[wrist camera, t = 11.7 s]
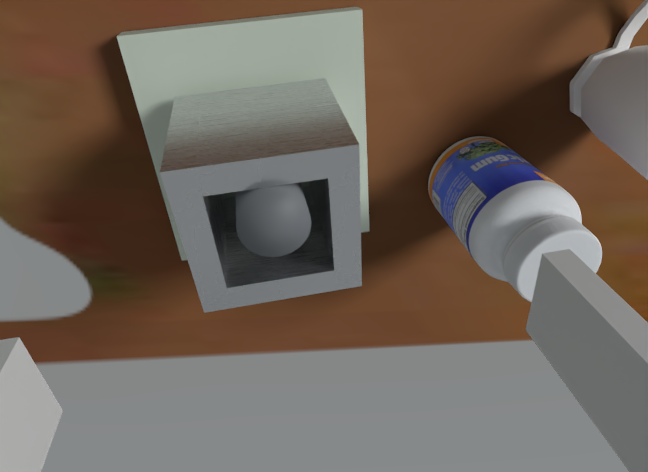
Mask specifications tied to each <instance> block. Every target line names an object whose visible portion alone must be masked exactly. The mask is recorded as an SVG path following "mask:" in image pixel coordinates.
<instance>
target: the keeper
mask: <svg viewBox="0 0 648 472" xmlns="http://www.w3.org/2000/svg"><path fill="white" fill-rule="evenodd" d="M116 37H117V40H118V43H119V47H120V50H121V54H122V57H123V61H124V64H125V67H126V71H127V74H128V78H129V81H130V85H131V88H132V92H133V95H134V98H135V102H136V105H137V109H138V112H139V116H140V119H141V122H142V126H143V129H144V133H145V136H146V140H147V143H148V147H149V150H150V153H151V157H152V160H153V164H154V167H155V171H156V174H157V177H158V181H159V184H160V188H161V191H162V195H163V198H164V201H165V205H166V208H167V212H168V215H169V219H170V222H171V226H172V229H173V232H174V236H175V239H176V243H177V246H178V250H179V253H180V256H181V260H182V261H183V260H187V257H186V253H185V250H184V247H183V244H182V241H181V238H180V235H179V231H178V228H177V225H176V222H175V219H174V216H173V212H172V209H171V206H170V203H169V200H168V197H167V194H166V190H165V187H164V184H163V181H162V178H161V175H160V169H161V164H162V159H163V154H164V148H165V143H166V138H167V133H168V128H169V123H170V118H171V113H172V108H173V103H174V98H175V97H176V96H184V95H192V94H200V93H209V92H217V91H225V90H233V89H241V88H249V87H257V86H265V85H273V84H281V83H289V82H297V81H305V80H313V79H321V78H325V79H326V81H327V83H328V85H329V86H330V88H331V90H332V92H333V94H334V96H335V98H336V100H337V102H338V104H339V106H340V108H341V110H342V112H343V114H344V116H345V118H346V120H347V121H348V123H349V125H350V127H351V129H352V131H353V133H354V135H355V137H356V139H357V141H358V143H359V153H360V208H361V233H362V232H368V231H369V201H368V171H367V140H366V109H365V78H364V47H363V16H362V9H360V8H358V7H348V8H339V9H330V10H321V11H311V12H302V13H293V14H284V15H274V16H265V17H256V18H247V19H238V20H228V21H219V22H210V23H201V24H191V25H182V26H173V27H164V28H154V29H145V30H136V31H127V32H121V33H120V34H119V35H117V36H116ZM308 186H310V181H306V182H299V183H292V184H285V185H278V186H272V187H265V188H258V189H251V190H244V191H237V192H230V193H224V195H225V199H226V198H233V197H236V231H237V235H238V237H239V239H240V241H241V242H242V244H243V245H244V246H245V247H246V248H247V249H248V250H250V251H251V252H253V253H255V254H258V255H260V256H265V257H279V256H284V255H287V254H289V253H292V252H293V251H295V250H297V249H298V248H299V247H300V246H301V245H302V244H303V243H304V242H305V241H306V239H307V238H308V236H309V233H310V230H311V217H310V213H309V210H308V206H307V203H306V199H305V196H304V193H303V189H302V187H308Z"/></svg>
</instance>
